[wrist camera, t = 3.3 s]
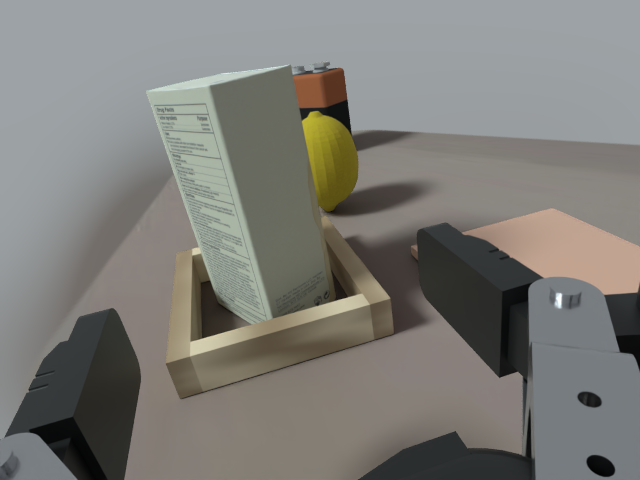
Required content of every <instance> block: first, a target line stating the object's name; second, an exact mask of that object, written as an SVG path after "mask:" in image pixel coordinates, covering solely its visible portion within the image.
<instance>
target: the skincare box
mask: <svg viewBox="0 0 640 480" xmlns="http://www.w3.org/2000/svg"><path fill="white" fill-rule="evenodd" d="M146 93H147V96H148V99H149V102H150V105H151V108H152V111H153V114H154V116H155V120H156V122H157V126H158V129H159V131H160V134H161V137H162V140H163V143H164V146H165V149H166V151H167V154H168V157H169V160H170V163H171V166H172V169H173V172H174V175H175V178H176V181H177V184H178V187H179V190H180V193H181V196H182V199H183V202H184V205H185V207H186V210H187V213H188V216H189V219H190V222H191V225H192V228H193V231H194V234H195V237H196V240H197V243H198V245H199V248H200V251H201V254H202V257H203V260H204V263H205V266H206V269H207V272H208V275H209V278H210V281H211V283H212V286H213V289H214V292H215V295H216V298H217V301H218V303H219V304H221V305H222V306H224V307H225V308H227V309H228V310H230V311H231V312H233V313H235V314H236V315H238V316H239V317H241V318H243V319H244V320H246V321H247V322H249V323H250V324H256V323H259V322H263V321H267V320H270V319H274V318H277V317H281V316H284V315H288V314H291V313H295V312H298V311H302V310H305V309H309V308H312V307H316V306H319V305H323V304H327V303H330V302H333V301H334V300H335V299H336V292H335V287H334V282H333V277H332V272H331V267H330V262H329V256H328V252H327V246H326V241H325V236H324V231H323V226H322V221H321V216H320V211H319V206H318V201H317V195H316V191H315V185H314V181H313V175H312V171H311V165H310V161H309V155H308V150H307V145H306V141H305V135H304V130H303V125H302V120H301V115H300V110H299V105H298V99H297V94H296V89H295V84H294V79H293V73H292V68H291V65H286V66H280V67H272V68H266V69H257V70H250V71H243V72H235V73H224V74H219V75H213V76H209V77H204V78H200V79H195V80H191V81H186V82H183V83H178V84H174V85H169V86H165V87H161V88H157V89H153V90H149V91H146Z"/></svg>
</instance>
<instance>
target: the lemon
mask: <svg viewBox="0 0 640 480" xmlns="http://www.w3.org/2000/svg"><path fill="white" fill-rule="evenodd" d="M302 125H303V130H304V135H305V141H306V145H307V150H308V155H309V161H310V165H311V171H312V175H313V181H314V185H315V191H316V195H317V201H318V206H320V207H321V208H323V209H324V210H325V211H333V210H334V208H335V207H336V206H337V204H338V203H340V202H342V201H343V200H345V199H346V198H347V197H348V196H349V195H350V194H351V192H352V191H353V189H354V187H355V185H356V182H357V178H358V155H357V151H356V147H355V144H354V141H353V139H352V137H351V134H350V133H349V131H348V130H347V128H346V127H345V126H344V125H343V124H342V123H340V122H339V121H338V120H336V119H334V118H332V117H329V116H325V115H322V114H321V113H320V112H319V111H313V112H310V113H309V115H308V117H307V118H306V119H304V120H303V121H302Z"/></svg>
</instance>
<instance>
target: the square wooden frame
mask: <svg viewBox="0 0 640 480" xmlns="http://www.w3.org/2000/svg"><path fill="white" fill-rule="evenodd" d="M321 221H322V226H323V231H324V236H325V241H326V246H327V252H328V256H329V262H330V267H331V270H332V272H333V273H334V275H335V277H336V278H337V280H338V281H339V283H340V285H341V286H342V288H343V290H344V291H345V293H346V294H347V296H348V298H344V299H341V300H337V301H334V302H330V303H327V304H323V305H319V306H316V307H312V308H309V309H305V310H302V311H298V312H295V313H291V314H288V315H284V316H281V317H277V318H274V319H270V320H267V321H263V322H259V323H256V324H252V325H249V326H245V327H242V328H238V329H235V330H231V331H228V332H224V333H221V334H217V335H214V336H210V337H206V338H203V339H202V310H201V283H202V282H206V281H210V278H209V275H208V272H207V269H206V266H205V263H204V260H203V257H202V254H201V251H200V248H199V247H198V248H194V249H190V250H186V251H182V252H178V253H177V254H176V264H175V274H174V284H173V294H172V305H171V315H170V325H169V335H168V345H167V355H166V365H167V368H168V370H169V373H170V375H171V378H172V380H173V383H174V385H175V388H176V390H177V393H178V395H179V398H180V399H181V398H184V397H187V396H191V395H194V394H197V393H201V392H204V391H207V390H210V389H214V388H217V387H220V386H224V385H227V384H230V383H234V382H237V381H240V380H243V379H247V378H250V377H253V376H257V375H260V374H263V373H267V372H270V371H273V370H276V369H280V368H283V367H286V366H290V365H293V364H296V363H299V362H303V361H306V360H309V359H313V358H316V357H319V356H323V355H326V354H329V353H332V352H336V351H339V350H342V349H346V348H349V347H352V346H355V345H359V344H362V343H365V342H369V341H372V340H375V339H379V338H382V337H385V336H388V335H392V334H394V327H393V317H392V307H391V298H390V297H389V296H388V295H387V293H386V292H385V291H384V289H383V288H382V287H381V286H380V284H379V283H378V282H377V280H376V279H375V278H374V277H373V275H372V274H371V273H370V272H369V270H368V269H367V268H366V266H365V265H364V264H363V263H362V261H361V260H360V259H359V257H358V256H357V255H356V254H355V252H354V251H353V250H352V248H351V247H350V246H349V245H348V243H347V242H346V241H345V240H344V238H343V237H342V236H341V234H340V233H339V232H338V231H337V229H336V228H335V227H334V225H333V224H332V223H331V222H330V220H329V219H328V218H327V216H323V217H321Z"/></svg>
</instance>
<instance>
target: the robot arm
mask: <svg viewBox="0 0 640 480" xmlns="http://www.w3.org/2000/svg"><path fill="white" fill-rule="evenodd" d="M417 250H418V267H419V281H420V285H421V289H422V291H423V294H424V296H425V297H426V299H427V300H428V301H429V302H430V304H431V305H432V306H433V307H434V308H435V309H436V310H437V311H438V312H439V313H440V314H441V315H442V316H443V318H444V319H445V320H446V321H447V322H448V323H449V324H450V325H451V326H452V327H453V328H454V329H455V331H456V332H457V333H458V334H459V335H460V336H461V337H462V338H463V339H464V340H465V341H466V342H467V343H468V345H469V346H470V347H471V348H472V349H473V350H474V351H475V352H476V353H477V354H478V355H479V356H480V357H481V359H482V360H483V361H484V362H485V363H486V364H487V365H488V366H489V367H490V368H491V369H492V370H493V371H494V373H495V374H496V375H497V376H498V377H499V378H500V377H503V376H506V375H509V374H512V373H515V372H519V373H520V374H521V375H522V376H523V379H522V455H519V454H516V453H512V452H507V451H503V450H496V449H488V448H469V449H467V447H466V446H465V444H464V443H463V442H462V440H461V439H460V437H459V436H458V434H457V433H456V431H455V432H452V433H449V434H446V435H443V436H440V437H438V438H435V439H432V440H429V441H426V442H423V443H420V444H418V445H415V446H412V447H409V448H406V449H403V450H402V451H400V452H399V453H397V454H396V455H394V456H393V457H391V458H390V459H388V460H387V461H385V462H384V463H382V464H381V465H379V466H378V467H376V468H375V469H373V470H372V471H370V472H369V473H367V474H366V475H364V476H363V477H361V478H360V479H358V480H640V283H639V288H638V292H636V293H622V294H608V295H604V294H603V293H602V292H601V291H600V290H599V289H598V288H597V287H595V286H594V285H592V284H590V283H588V282H585V281H582V280H579V279H575V278H569V277H548V278H543V277H542V276H540V275H539V274H537V273H536V272H534V271H533V270H531V269H530V268H528V267H527V266H525V265H523V264H522V263H520V262H519V261H517V260H516V259H514V258H513V257H512V258H510V255H508V254H507V253H505V252H503V251H502V250H500V251H499V248H497V247H496V246H494V245H493V244H491V243H490V242H488V241H487V240H484V239H481V238H477V237H474V236H471V235H464V234H462V233H461V232H459V231H458V230H457V229H455V228H454V227H452V226H451V225H449V224H448V223H442V224H438V225H434V226H430V227H426V228H422V229H420V230H419V231H418V233H417ZM35 376H36V378H35V379H33V381H32V383H31V385H30V387H29V389H28V390H29V393H26V395H25V397H24V399H23V401H22V403H21V405H20V407H19V409H18V411H17V413H16V415H15V417H14V419H13V421H12V423H11V425H10V427H9V429H8V431H7V433H6V435H5V437H4V438H3V439H0V480H124V477H125V471H126V465H127V459H128V453H129V448H130V442H131V436H132V430H133V424H134V418H135V412H136V407H137V401H138V395H139V389H140V383H141V373H140V367H139V362H138V359H137V356H136V354H135V352H134V349H133V347H132V345H131V342H130V340H129V338H128V335H127V333H126V331H125V328H124V326H123V324H122V321H121V319H120V317H119V315H118V313H117V312H116V310H115V309H113V308H111V309H107V310H103V311H99V312H95V313H92V314H88V315H84V316H80V317H79V318H78V320H77V322H76V324H75V326H74V328H73V331H72V333H71V335H70V337H69V340H68V341H64V342H60V343H59V344H58V345H57V346H56V347H55V348H54V349H53V350H52V351H51V352H50V353H49V354H48V355H47V356H46V357H45V358H44V359H43V361H42V363H41V365H40V367H39V369H38V371H37V373H36V375H35Z"/></svg>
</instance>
